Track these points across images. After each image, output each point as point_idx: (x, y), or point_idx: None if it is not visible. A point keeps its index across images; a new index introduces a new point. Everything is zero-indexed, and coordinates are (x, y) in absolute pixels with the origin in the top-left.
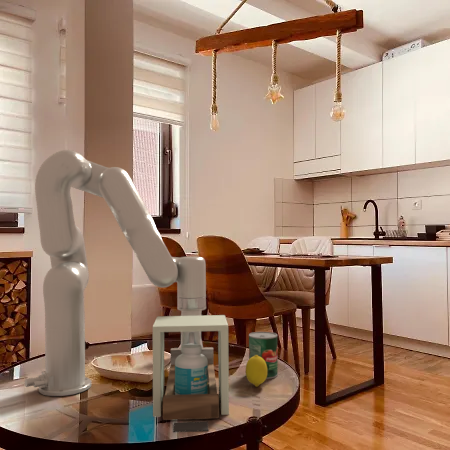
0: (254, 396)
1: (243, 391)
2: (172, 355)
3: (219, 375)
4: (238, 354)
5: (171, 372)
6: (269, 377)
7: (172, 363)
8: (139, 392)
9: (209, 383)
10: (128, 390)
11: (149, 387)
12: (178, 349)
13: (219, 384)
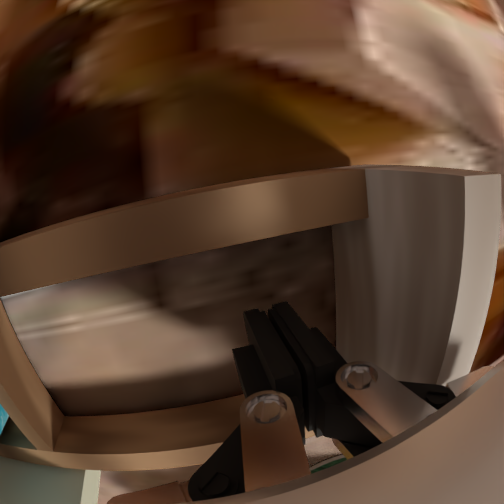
0: (129, 492)
1: (159, 479)
2: (421, 192)
3: (22, 500)
4: (492, 353)
5: (142, 227)
6: None
7: (373, 184)
8: (38, 70)
9: (43, 451)
10: (74, 8)
11: (112, 84)
12: (471, 264)
13: (32, 475)
